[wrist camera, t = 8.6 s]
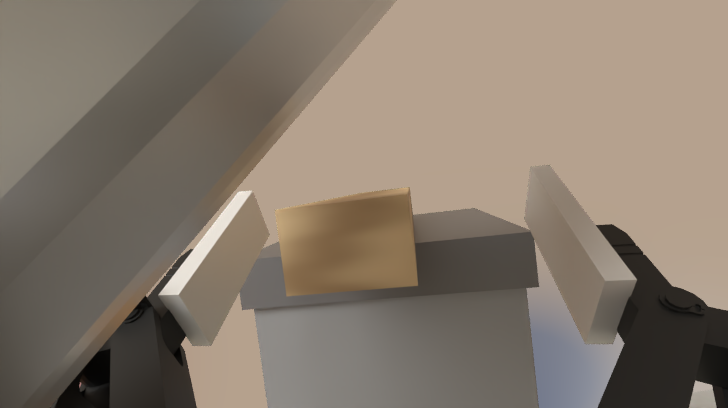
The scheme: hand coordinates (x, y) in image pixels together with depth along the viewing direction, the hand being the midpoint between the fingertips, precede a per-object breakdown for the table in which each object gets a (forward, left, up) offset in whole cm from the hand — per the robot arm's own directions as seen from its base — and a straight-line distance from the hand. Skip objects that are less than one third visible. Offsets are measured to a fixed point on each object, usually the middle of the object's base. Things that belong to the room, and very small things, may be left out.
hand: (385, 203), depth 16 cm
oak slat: (+2, -4, -3) cm, 6 cm away
